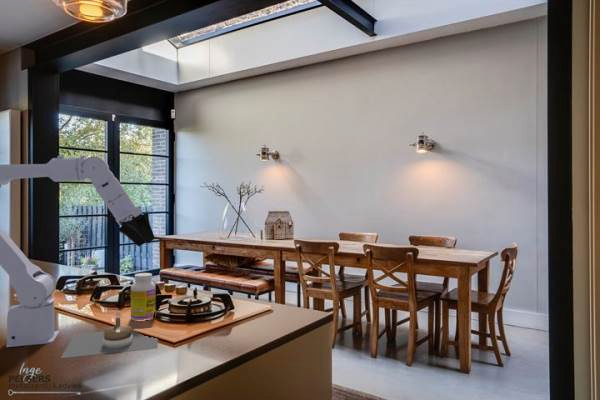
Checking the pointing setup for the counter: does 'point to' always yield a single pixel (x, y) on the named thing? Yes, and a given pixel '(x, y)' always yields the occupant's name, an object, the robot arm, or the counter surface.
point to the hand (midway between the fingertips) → (146, 242)
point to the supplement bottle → (143, 297)
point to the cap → (117, 330)
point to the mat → (94, 346)
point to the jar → (117, 343)
